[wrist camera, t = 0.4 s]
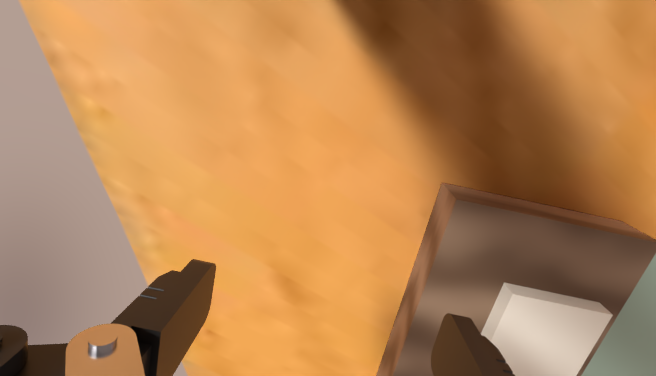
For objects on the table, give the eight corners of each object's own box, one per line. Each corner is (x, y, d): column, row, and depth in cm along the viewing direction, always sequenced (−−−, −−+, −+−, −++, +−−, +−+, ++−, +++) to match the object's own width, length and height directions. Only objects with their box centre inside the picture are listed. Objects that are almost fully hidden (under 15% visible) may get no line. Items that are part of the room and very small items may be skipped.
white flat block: (504, 282, 27) (512, 294, 26) (599, 302, 28) (612, 314, 26) (455, 390, 31) (460, 405, 30) (538, 407, 32) (547, 422, 30)
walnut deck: (442, 182, 29) (456, 199, 25) (621, 221, 29) (661, 243, 26) (372, 386, 37) (375, 422, 33) (514, 415, 37) (533, 453, 34)
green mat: (621, 232, 30) (624, 234, 29) (794, 269, 30) (799, 272, 30) (522, 409, 37) (524, 413, 37) (662, 437, 37) (666, 441, 37)
